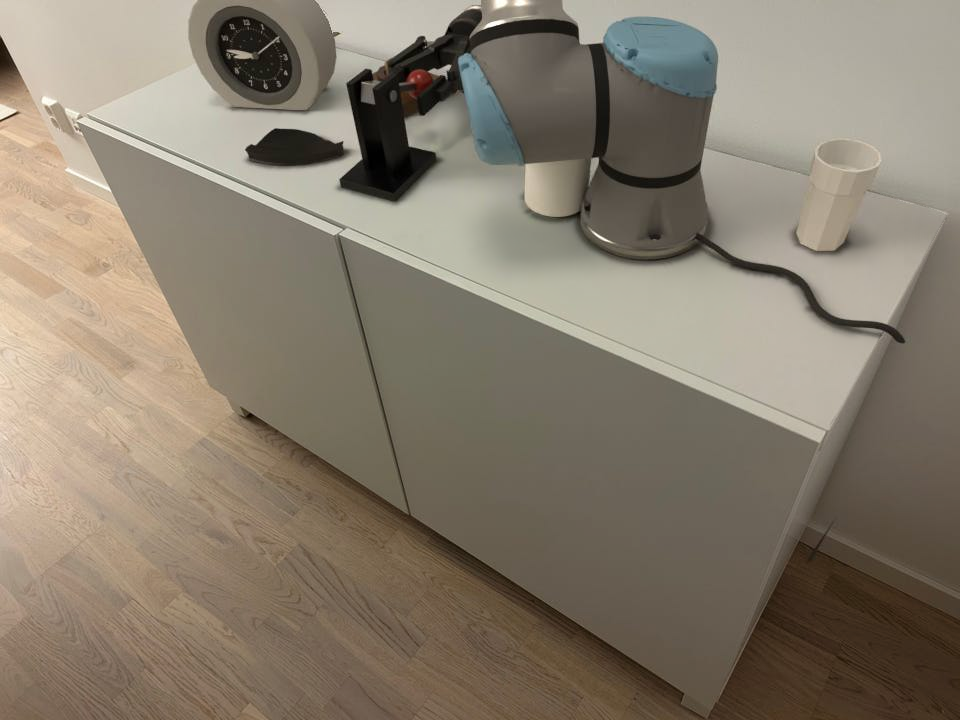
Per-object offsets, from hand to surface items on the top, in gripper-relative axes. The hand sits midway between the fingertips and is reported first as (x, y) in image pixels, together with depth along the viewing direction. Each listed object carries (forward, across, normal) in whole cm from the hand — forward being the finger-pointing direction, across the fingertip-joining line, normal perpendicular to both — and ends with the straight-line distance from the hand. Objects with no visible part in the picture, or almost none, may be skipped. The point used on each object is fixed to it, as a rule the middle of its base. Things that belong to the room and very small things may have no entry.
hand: (399, 101), depth 97 cm
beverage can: (+2, -24, -9) cm, 26 cm away
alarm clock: (-8, +30, -8) cm, 32 cm away
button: (-16, +11, -5) cm, 20 cm away
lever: (0, 0, 0) cm, 0 cm away
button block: (-16, +11, -8) cm, 21 cm away
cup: (-2, -56, -8) cm, 57 cm away
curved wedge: (+5, +17, -8) cm, 20 cm away
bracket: (+5, 0, -8) cm, 10 cm away
